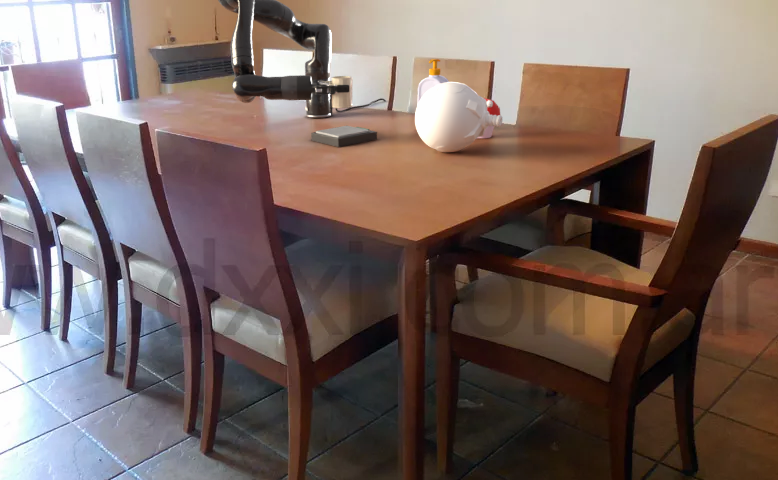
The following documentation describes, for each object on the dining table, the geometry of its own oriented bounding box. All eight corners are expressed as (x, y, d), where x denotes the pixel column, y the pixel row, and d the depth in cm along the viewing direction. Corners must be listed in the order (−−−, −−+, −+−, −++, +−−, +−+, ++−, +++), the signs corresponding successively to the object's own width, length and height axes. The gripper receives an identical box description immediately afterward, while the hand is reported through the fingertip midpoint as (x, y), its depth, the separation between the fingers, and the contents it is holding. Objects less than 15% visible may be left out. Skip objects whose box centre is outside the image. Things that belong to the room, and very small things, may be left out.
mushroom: (461, 133, 224) (463, 95, 219) (494, 132, 224) (497, 94, 219) (468, 140, 214) (470, 100, 209) (503, 138, 214) (506, 99, 209)
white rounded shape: (429, 142, 213) (432, 76, 205) (508, 149, 200) (515, 80, 192) (402, 155, 198) (404, 84, 190) (486, 163, 185) (492, 89, 177)
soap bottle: (415, 131, 230) (417, 59, 220) (424, 127, 235) (427, 57, 225) (439, 133, 225) (442, 60, 215) (448, 129, 230) (452, 58, 221)
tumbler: (343, 104, 220) (343, 75, 216) (356, 106, 215) (356, 77, 211) (327, 106, 216) (327, 77, 213) (340, 109, 212) (340, 79, 208)
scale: (349, 133, 229) (349, 124, 228) (377, 139, 219) (377, 129, 218) (311, 140, 221) (311, 130, 219) (338, 147, 210) (338, 137, 209)
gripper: (294, 78, 206) (349, 77, 205) (297, 73, 219) (349, 72, 218) (295, 103, 209) (349, 102, 208) (298, 96, 222) (349, 96, 221)
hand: (349, 87), depth 213 cm, fingers closed on tumbler, 6 cm apart
